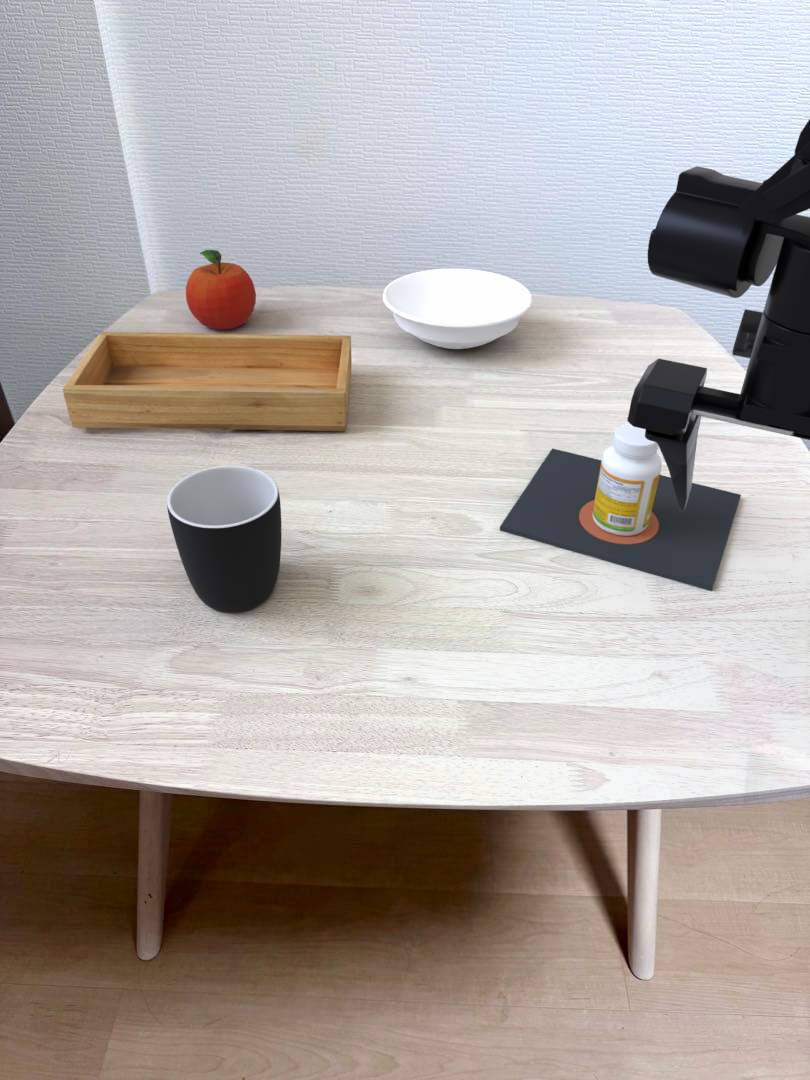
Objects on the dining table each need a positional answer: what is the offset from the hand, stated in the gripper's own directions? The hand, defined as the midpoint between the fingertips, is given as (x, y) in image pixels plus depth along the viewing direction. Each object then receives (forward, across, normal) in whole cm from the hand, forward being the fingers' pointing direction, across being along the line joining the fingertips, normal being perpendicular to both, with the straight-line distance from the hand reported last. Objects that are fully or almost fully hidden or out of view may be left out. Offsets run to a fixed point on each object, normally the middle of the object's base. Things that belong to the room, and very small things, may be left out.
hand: (747, 524), depth 61 cm
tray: (+13, +60, -17) cm, 64 cm away
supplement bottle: (+13, +11, -14) cm, 22 cm away
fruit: (+13, +73, -36) cm, 82 cm away
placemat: (+13, +11, -16) cm, 23 cm away
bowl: (+13, +42, -46) cm, 64 cm away
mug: (+13, +40, +10) cm, 43 cm away
